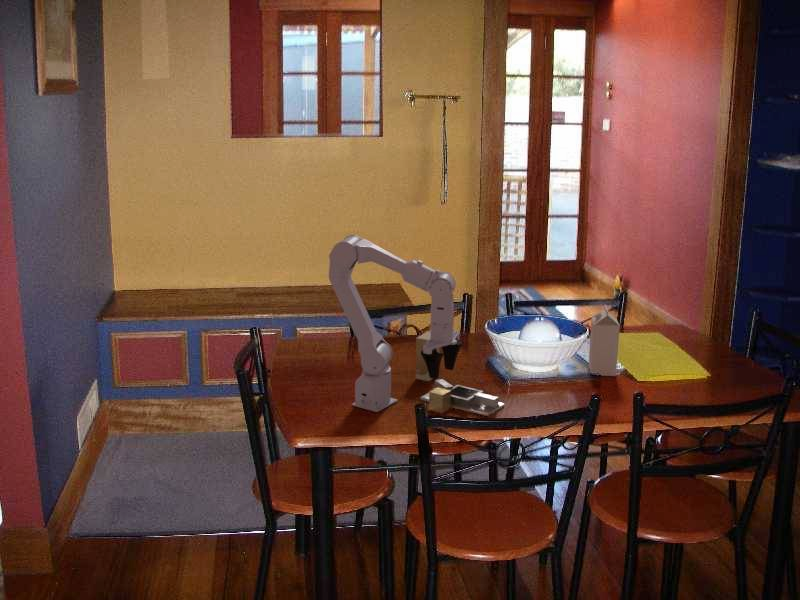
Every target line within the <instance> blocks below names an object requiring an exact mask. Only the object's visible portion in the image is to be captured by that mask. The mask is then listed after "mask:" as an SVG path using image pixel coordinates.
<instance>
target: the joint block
mask: <svg viewBox="0 0 800 600" xmlns="http://www.w3.org/2000/svg"><path fill="white" fill-rule="evenodd" d="M434 388H435V387H434ZM428 393H429V402H428V411H430V410H431V412H434V413H438V412H440V413H439V414H443V413H442V412H444V413H445V411H446V410H447V411H449V410H450V409H451V408H450V407H451V391H450V390H446V389H442V388H438V387H437V388H435V389H434V390H432V389H431V390H430V391H429V392H428ZM449 408H450V409H449ZM448 409H449V410H448ZM447 411H446V412H447Z"/></svg>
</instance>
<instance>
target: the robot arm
mask: <svg viewBox="0 0 800 600" xmlns="http://www.w3.org/2000/svg"><path fill="white" fill-rule="evenodd" d="M328 258H329V266H328V267H329V268H328V280H329V282H330V284H331V287H332V289H333V291H334V292H335V295H336V297H337V299H338V301H339V303H340V306H341V308H342V310H343V312H344V314H345V316H346V318H347V320H348V323H349V324H350V326H351V328H352V329H351V330H353V334H355V337H356V340H357V341H358V342H357V347H358V349H357V350H358V353H359V355H360V365H361V368H362V373H361V375H360V376H359V377H358V378H357V379H356V381H355V382H354V383H355V384H354V402H353V403H352V404H351V406H354V407H357V408H360V409H365V410H367V411H371V412H375V413H377V412H380V411H382V410H384V409H385V408H387V407H390V406H391V405H393V404H395V403H397V402H398V399H396V398H393V397H392V395H391V393H392V391H391V390H392V368H391V366H390V363H389V362H390V361H391V360H392V358H393V356H394V355H393V353H394V352H393V348H392V346H391V345H390V344H389V343H388V342H387V341H386V340H385V339H384V337H383V335H382V334H381V333H380V332H379V331H377V330H376V327H375V325H374V323H373V321H372V319H371V317H370V315H369V313H368V311H367V308H366V307H365V305H364V302H363V300H362V297H361V295H360V294H359V293H360V292H359V291H358V289H357V287H356V285H355V283H354V281H353V278H352V276H351V275H352V273H353V270H354V269H355V267H356V264H358V265H359V264H366V263H370V262H372V263H375V264H377V265H379V266H381V267H383V268H386V269H388V270H391V271H392V272H396V273H398V274H400V275H401V277H402V280H403V282H405V283H407V284H410V285H412V286H413V287H416V288H418V289H420V290H422V291H424V292H425V293H426V292H427V293H428V294H429V296H430V297H431V303H430V333H431V338H430V339H429V340H428V342H427V343H426V345H424V346H423V350H421V355H422V357H423V359H424V360H425V363H426V365H427V369H428V373H429V377H430V378H433V379H435V380H438V378H439V376H440V366H441V362H442V360H443V363H444V364H443V365H444V369H445V370H448V371H453V370H454V367H455V364H456V360H457V357H458V354H459V352H460V350H461V349H462V347H463V342H462V341H459V340H461V339H460V337H461V332H460V331H459V332H458V331H454V330H455V329H454V324H455V322H454V320H455V319H454V318H455V316H454V315H455V304H454V301H455V300H454V299H455V297H454V293H453V292H454V291H455V289H456V284H457V283H456V279H455V278H454V277H453V275H451V274H450V273H449V272H447V271H441V270H440V269H434V268H431V267H430V266H427V265H425V264H423V263H424V261H423V260H420V259H418V260H417V261H416V260H415V259H412V260H410V261H406V260H404V259H402V258H400V257H398V256H396V255H395V254H393V253H391V252H389V251H387V250H386V249H384V248H382V247H380V246H378V245H377V244H375V243H373V242H371V241H370V240H368V239H365V238H361V237H360V236H359V235H356V234H350V235H347V236H345V237H344V238H343V239H342V240H340V241H339V242H337V243H335V244H334V245H333V248H331V252H329V256H328ZM437 349H439V350H440V349H442V353H441V352H439V353H438V351H437Z"/></svg>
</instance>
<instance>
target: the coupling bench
mask: <svg viewBox="0 0 800 600" xmlns="http://www.w3.org/2000/svg"><path fill="white" fill-rule="evenodd" d="M437 387H438V388H442V389H446V390H450V391H451V408H450V409H453V408H455V410H457V409H461V410H465V411H470V412H474V413H478V414H484V415H489V414H490V413H492V412H494V411H496V410H498V409H499V408H501V407H503V406H504V405H506V403H503V402H501V401H499V399H500V398H499V396H496V395H495V396H494V395H491V394H487V393H484V390H480V389H477V388H472V387H468V386H464V385H462V384H461V385H460V384H456V385H454V386H453V385H452V384H450V383H449V382H448V381H446V380H445V379H443V378H441V379H440V378H439V379H435V380H434V387H433V388H432V389H431V391H432V390H434V389H435V388H437ZM420 401H423V402H427V403H429V392H427V393H426V394H424V395H422V396H420ZM504 407H505V406H504ZM504 407H503V408H504ZM501 409H502V408H501ZM461 410H460V411H461ZM465 411H464V412H465ZM498 411H499V410H498ZM496 412H497V411H496Z"/></svg>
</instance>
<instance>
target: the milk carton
mask: <svg viewBox="0 0 800 600" xmlns="http://www.w3.org/2000/svg"><path fill="white" fill-rule="evenodd" d="M620 328H621V327H620V324H619V321H618V318H616V317H615V316H614V315H613V314H612V313H611V312H610V311H609V310H608V308H607V305H606V304H604V308H603V309H601V310H600V311H597V312H595V313H594V315H593V316H592V317H591V322H590V338H589V351H588V353H589V354H588V365H589V368H590V371H591V372H598V373H599V374H600V375H601V376H603V377H605V376H606V377H616V376H617V369H618V368H617V367H618V357H619V356H618V355H619V354H618V353H619V352H618V351H619V344H620V343H619V342H620V341H619V340H620ZM589 368H588V369H589ZM590 371H589V372H590ZM601 376H600V377H601Z"/></svg>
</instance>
